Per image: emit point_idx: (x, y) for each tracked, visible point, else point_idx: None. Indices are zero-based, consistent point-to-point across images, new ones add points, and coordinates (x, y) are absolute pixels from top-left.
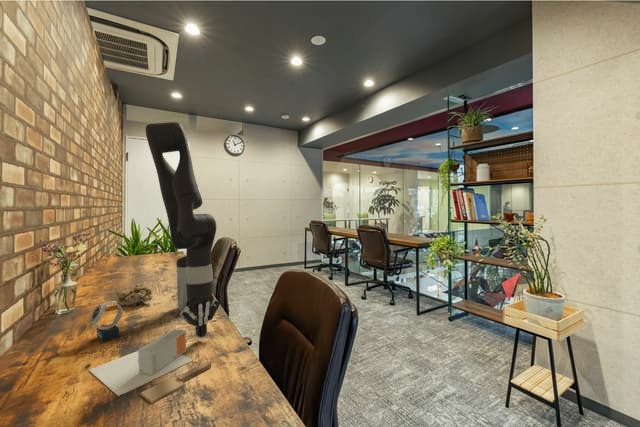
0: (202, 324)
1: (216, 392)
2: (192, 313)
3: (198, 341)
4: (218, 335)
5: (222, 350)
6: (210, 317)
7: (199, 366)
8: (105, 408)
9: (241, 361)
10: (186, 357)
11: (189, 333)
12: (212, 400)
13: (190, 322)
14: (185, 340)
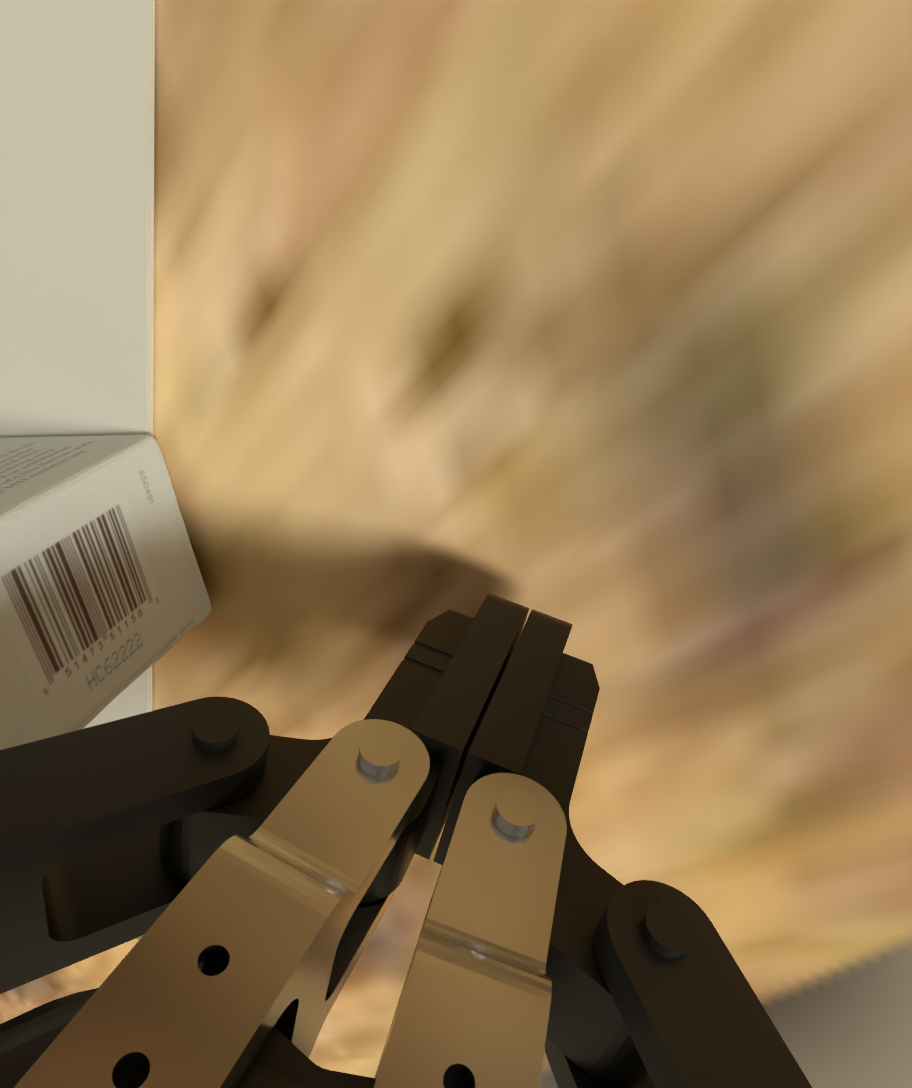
0: (451, 836)
1: (55, 998)
2: (160, 917)
3: (495, 581)
4: (771, 764)
5: (413, 923)
6: (576, 1059)
7: None
8: None
9: (335, 1068)
10: (143, 685)
11: (759, 147)
12: (15, 995)
13: (59, 875)
14: (100, 703)
